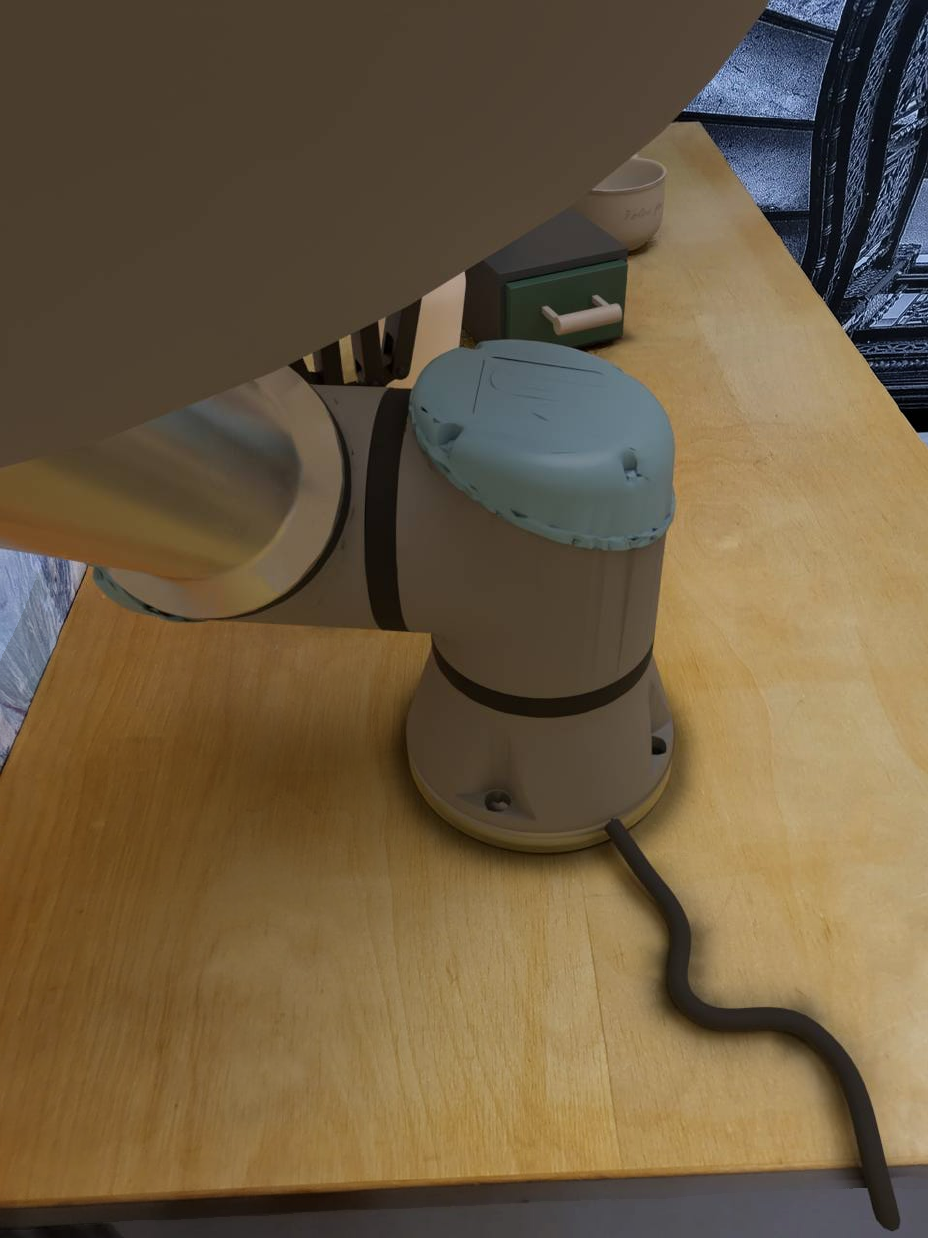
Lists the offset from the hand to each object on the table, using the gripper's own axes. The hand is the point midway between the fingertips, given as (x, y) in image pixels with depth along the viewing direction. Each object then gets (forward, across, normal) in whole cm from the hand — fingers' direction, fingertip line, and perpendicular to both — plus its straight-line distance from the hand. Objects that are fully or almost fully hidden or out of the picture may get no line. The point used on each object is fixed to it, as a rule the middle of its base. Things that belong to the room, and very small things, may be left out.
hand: (361, 477), depth 69 cm
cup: (+6, -12, -22) cm, 26 cm away
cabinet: (+6, -26, -28) cm, 39 cm away
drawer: (+5, -26, -24) cm, 36 cm away
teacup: (+6, -44, -43) cm, 62 cm away
